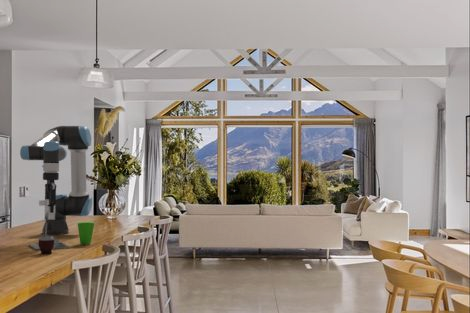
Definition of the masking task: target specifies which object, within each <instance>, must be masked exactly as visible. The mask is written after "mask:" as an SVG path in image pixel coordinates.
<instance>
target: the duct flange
mask: <svg viewBox="0 0 470 313" xmlns="http://www.w3.org/2000/svg"><path fill="white" fill-rule="evenodd" d="M54 242H55V243H54V247H53V249H52V250H65V249H64V248H68V249H70V246H69V245H67V244H65V243H63V242H60V241H59V239H54ZM28 246H29V247H30V248H31V249H32V250H34V251H41V250H40V248H39V245H38V243H31V244H28Z"/></svg>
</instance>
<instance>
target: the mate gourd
mask: <svg viewBox="0 0 470 313" xmlns="http://www.w3.org/2000/svg"><path fill="white" fill-rule="evenodd" d="M46 233H47V223H46V227H45V234H44V235H41V236H40V237H39V239H38V243H37V244H38V245H39V248H40V250H39V251H40V255H41V254H42V255H52V254H53V252H52V250H54V249H53V247H54V243H55V242H54V240H55V238H54V236H52V235H47V234H46Z"/></svg>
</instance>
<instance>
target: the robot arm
mask: <svg viewBox="0 0 470 313" xmlns="http://www.w3.org/2000/svg"><path fill="white" fill-rule="evenodd" d="M91 145H92V135H91V130H90V128H89V127H87V126H85V125H84V126H83V125H59V126H56V127H53V128H50V129H48V130H47V131H45V132H44V133H43V136H42V137H39V138H38V139H37V140H36V141H35V142H33V143H32V144H30V145H28V144H27V145H22V146H21V147H20V151H19V154H20V158H21V159H22V160H23V161H42V164H43V165H41V167H42V171H43V173H42V180H43V181H46V183H45V184H44V200H45V199H49V205H48V219H54V206H55V220H45V221H44V224H43V227H42V230H41V233H42V234H43V235H45V227H46V223H47V233H46V235H50V236H52V235H66V234H69V232H70V229H69V224H68V223H67V217H69V216H71V217H87V216H89V215H90V214H91V211H92V207H93V197H91V196H90V193H89V192H88V190H87V156H86V154H87V153H86V152H87V151H88V150H89V147H90V146H91ZM63 146H67V150H68V151H69V152H70V176H71V177H70V179H71V182H70V183H71V191H70V192H69V193H68V196H67V193H62V194H57V184H56V183H55V181H58V180H59V176H60V175H59V171H60V161H64V160H65V159H66V158H67V155H68V154H67V150H66V148H64V147H63Z"/></svg>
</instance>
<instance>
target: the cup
mask: <svg viewBox="0 0 470 313" xmlns="http://www.w3.org/2000/svg"><path fill="white" fill-rule="evenodd" d="M76 224H77V229H78V230H77V231H78V236H79V243H80V245H81V244H89V245H91V243H92V237H93V233H94V229H95V228H94V227H95V222H91V221H90V222H89V221H84V222H77V223H76Z"/></svg>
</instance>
